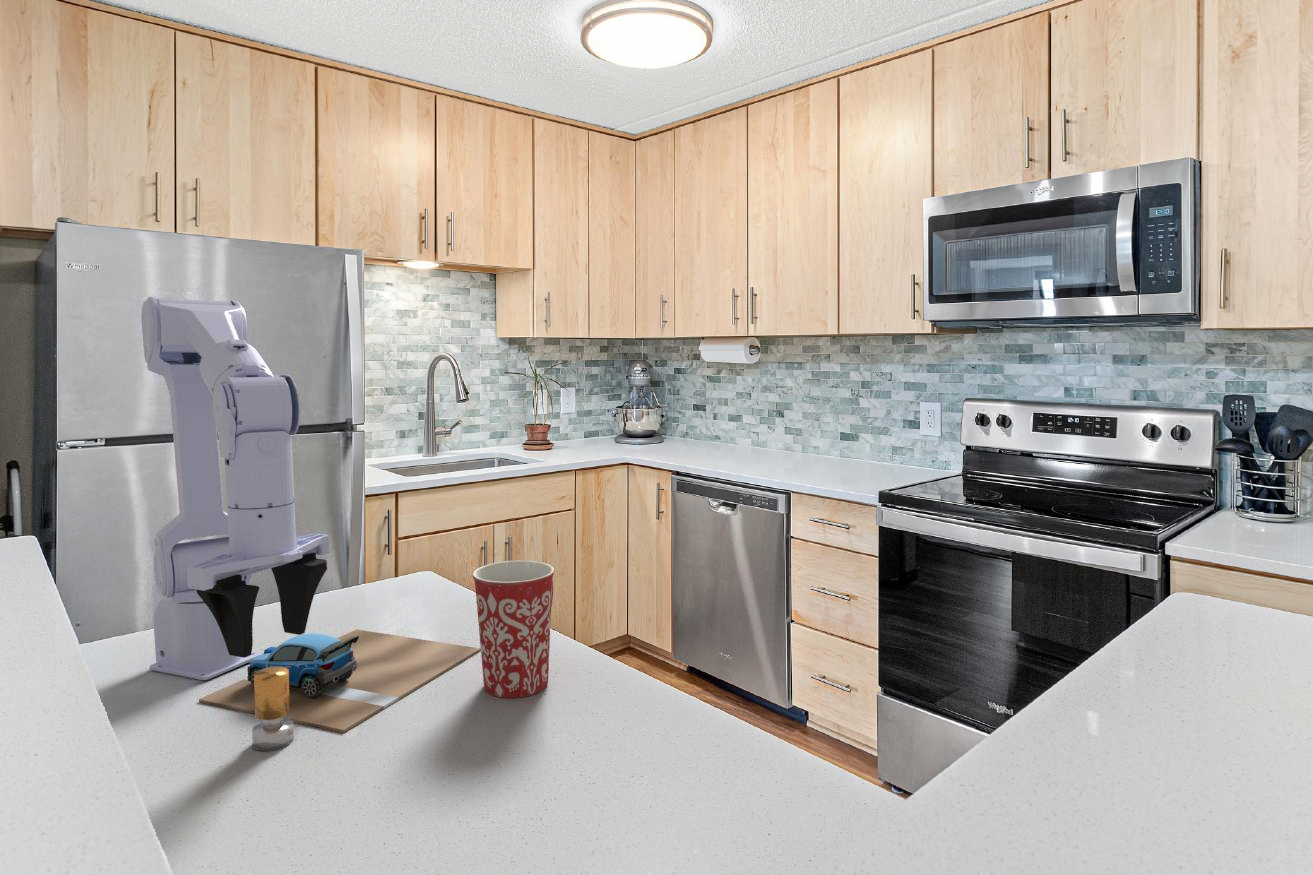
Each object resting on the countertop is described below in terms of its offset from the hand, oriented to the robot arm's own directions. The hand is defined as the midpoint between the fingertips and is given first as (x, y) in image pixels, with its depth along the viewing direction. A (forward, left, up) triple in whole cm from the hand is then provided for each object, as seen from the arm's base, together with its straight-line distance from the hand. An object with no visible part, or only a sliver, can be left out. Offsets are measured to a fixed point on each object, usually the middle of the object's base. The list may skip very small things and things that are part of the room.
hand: (268, 643), depth 76 cm
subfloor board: (-5, +16, -10) cm, 19 cm away
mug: (+15, +22, -10) cm, 28 cm away
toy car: (-7, +11, -10) cm, 16 cm away
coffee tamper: (0, 0, -10) cm, 10 cm away
